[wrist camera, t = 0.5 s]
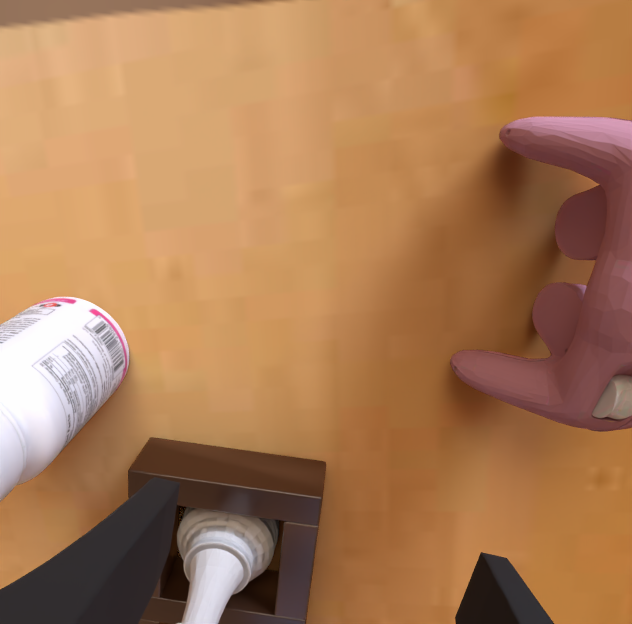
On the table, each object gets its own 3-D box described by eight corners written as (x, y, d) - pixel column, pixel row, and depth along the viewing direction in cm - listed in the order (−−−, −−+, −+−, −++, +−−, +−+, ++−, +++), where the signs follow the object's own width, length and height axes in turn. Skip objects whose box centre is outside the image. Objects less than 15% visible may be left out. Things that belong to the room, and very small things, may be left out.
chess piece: (193, 559, 26) (98, 804, 17) (178, 481, 25) (66, 700, 16) (284, 559, 26) (239, 810, 16) (275, 480, 24) (220, 705, 15)
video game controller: (525, 366, 23) (681, 465, 17) (435, 374, 22) (574, 486, 16) (592, 120, 20) (813, 136, 14) (491, 106, 18) (695, 116, 12)
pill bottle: (12, 375, 24) (-164, 503, 16) (33, 276, 22) (-151, 364, 14) (117, 415, 24) (-4, 561, 16) (145, 320, 22) (26, 430, 14)
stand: (295, 692, 29) (289, 743, 26) (148, 668, 29) (129, 717, 27) (326, 461, 24) (322, 498, 22) (150, 436, 24) (127, 470, 22)
